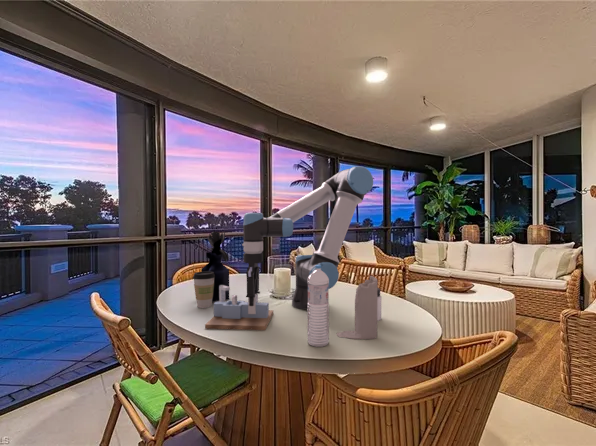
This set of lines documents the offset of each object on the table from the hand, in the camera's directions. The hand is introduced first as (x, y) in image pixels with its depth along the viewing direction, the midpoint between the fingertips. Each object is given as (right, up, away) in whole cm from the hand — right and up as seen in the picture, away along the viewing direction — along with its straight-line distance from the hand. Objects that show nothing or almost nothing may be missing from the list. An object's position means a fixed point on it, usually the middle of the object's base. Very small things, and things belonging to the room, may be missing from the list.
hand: (253, 311), depth 125 cm
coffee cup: (-25, -3, +20) cm, 32 cm away
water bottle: (+24, -4, -23) cm, 33 cm away
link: (-5, -2, 0) cm, 5 cm away
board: (-4, -3, -1) cm, 6 cm away
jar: (+46, -3, +2) cm, 46 cm away
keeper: (-12, -3, +6) cm, 14 cm away
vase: (-23, -3, +33) cm, 40 cm away
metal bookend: (+38, -4, -16) cm, 41 cm away
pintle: (-7, -3, +1) cm, 8 cm away
